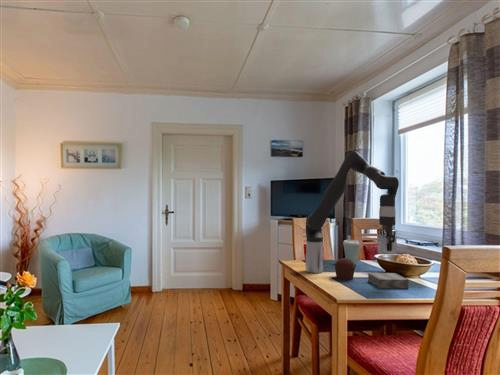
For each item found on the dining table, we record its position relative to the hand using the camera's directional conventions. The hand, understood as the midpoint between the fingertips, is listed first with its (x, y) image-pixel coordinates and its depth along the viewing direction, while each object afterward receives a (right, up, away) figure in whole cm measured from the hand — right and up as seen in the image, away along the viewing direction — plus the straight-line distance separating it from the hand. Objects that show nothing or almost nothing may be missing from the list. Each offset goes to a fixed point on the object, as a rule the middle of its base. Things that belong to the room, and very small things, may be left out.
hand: (387, 249), depth 171 cm
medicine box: (0, -2, 0) cm, 2 cm away
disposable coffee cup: (-3, -19, +52) cm, 55 cm away
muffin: (-17, -18, +13) cm, 28 cm away
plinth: (0, -17, 0) cm, 17 cm away
